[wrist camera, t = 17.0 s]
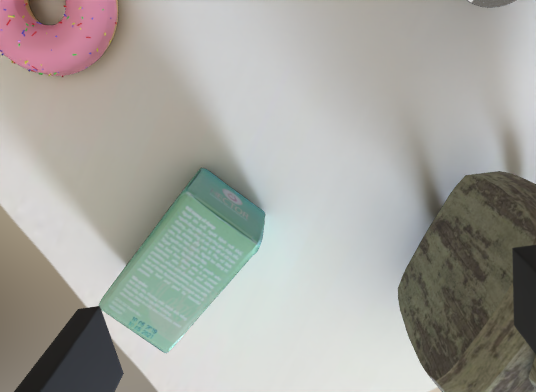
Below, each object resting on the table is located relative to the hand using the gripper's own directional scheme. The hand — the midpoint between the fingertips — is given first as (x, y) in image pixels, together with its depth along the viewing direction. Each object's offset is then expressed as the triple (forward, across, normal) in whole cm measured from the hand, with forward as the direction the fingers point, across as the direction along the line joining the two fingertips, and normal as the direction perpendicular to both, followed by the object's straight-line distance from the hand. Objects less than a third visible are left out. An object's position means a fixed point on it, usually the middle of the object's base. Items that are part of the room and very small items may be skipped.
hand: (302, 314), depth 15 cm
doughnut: (+27, -17, +14) cm, 35 cm away
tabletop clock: (+27, +13, -11) cm, 32 cm away
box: (+27, -11, -8) cm, 30 cm away
